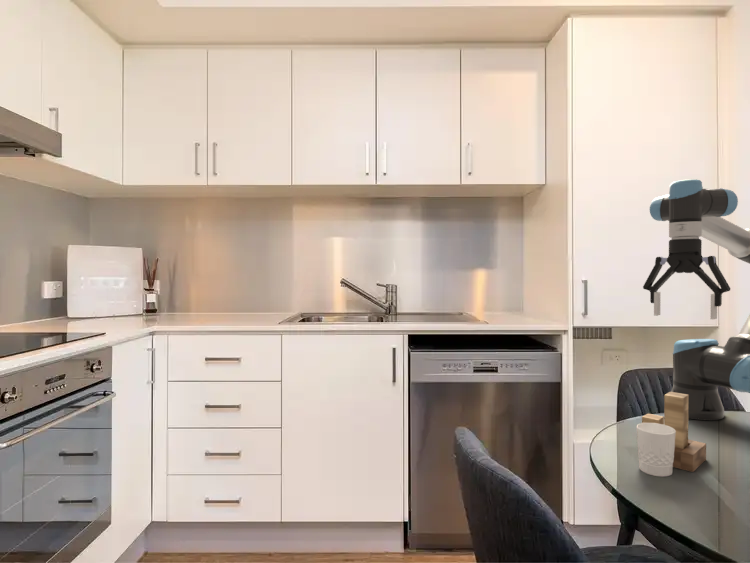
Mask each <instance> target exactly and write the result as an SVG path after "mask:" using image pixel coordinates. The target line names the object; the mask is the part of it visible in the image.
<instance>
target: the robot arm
mask: <svg viewBox="0 0 750 563" xmlns="http://www.w3.org/2000/svg"><path fill="white" fill-rule="evenodd" d="M738 204H739V199H738V196H737V194H736V193H735V192H734V191H732V190H730V189H727V188H722V187H721V188H704V186H703V182H702V181H701V180H700V179H698V178H697V179H694V178H693V179H692V178H691V179H681V180H675V181H673V182H671V183H670V184H669V193H668V194H665V195H662V196H658V197H655V198H653V200H651V203H650V204H649V214H650V216H651V217H652V219H653V220H655V221H656V222H657V221H658V222H666V221H668V238H671V239H669V240H668V256H667V257H664V256H657V257H656V258H655V261H654V266H653V268H652V269H651V271H650V272H649V275H648V277H647V278H646V281H645V282H644V284H643V286H642V288H643V290H647V291H649V292H650V300H649V301H650V303H651V304H653V316H657V317H658V316H661V291H658V290H659V289H660V288H661V287H662V286H663V285H664V284H665V283H666V282H667V281H668V280H669V279H670V277H672V275H674V274H675V273H676V274H683V273H686V274H692V273H694V274H695V275H697V276H698V277H699V278H700V280H701V281H703V283H704V284H706V286H707V287H708V288H709V289H710V290H711V291H712V292H713V293H711V294H710V320H716V319H718V307H721V306H722V301H723V298H722V297H723V293H727V292H730V291H731V287H730V286H729V284H728V281H727V279H726V278H725V277H724V274H723V273H722V271H721V270H720V268H719V266H718V264H717V257H716V256H715V255H709V256H702V244H703V243H702V241H703V240H702V239H701V238H700V237H702V238H704V239H705V240H707V241H710V242H711V243H713V244H716V245H717V246H720V247H721V248H723V249H726V250H727V252H728V254H729V255H730V256H732V257H733V258H736V259H738V260H741V261H742V262H745V263H747V264H750V228H743V227H740V226H739V225H737V224H735V223H733V222H731V221H729V220H727V219H725V218H723V217H727V216H730V215H732V214H733V213H734V212H735V211H736V209H737V207H738ZM666 263H667V264H668V265H669V268H667V270H665V272H664V273H663V275H661V277H659V279H658V280H656V279H657V277H658V275H659V273H660V271H661V270H662V268H663V266H664V265H666ZM702 263H705V265H707V266H708V267H709V269H710V271H711V273H712V275H713V276H714V278H715V280H716V282H717V283H718V284H717V283H716V282H715V281H714V280H713V279H712V278H711V277H710V276H709V275H708V274H707V272H705V271H704V269H703V268H702V267H701V265H702ZM654 282H655V283H654ZM672 369H673V370H672V372H673V373H672V374H673V375H672V378H673V381H672V384H673V386H672V388H671V391H670V392H675V393H681V394H687V395H688V419H691V420H698V421H699V420H700V421H718V420H721V419H724V418H725V408H724V406H723V403H722V400H721V397H720V393H719V391H718V387H721V388H725V389H729V390H734V391H736V392H739V393H747V394H750V314H748V316H747V317H746V320H745V322H744V323H743V325H742V328H740V330H739V333H738V334H737V335H733V336H730V337H729V338H728V339H727V341H726V343H725V345H724V346H722V345H719V341H718V339H715V338H714V339H713V338H691V339H690V338H689V339H681V340H677V341H675V342H674V344H673V352H672Z"/></svg>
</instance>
